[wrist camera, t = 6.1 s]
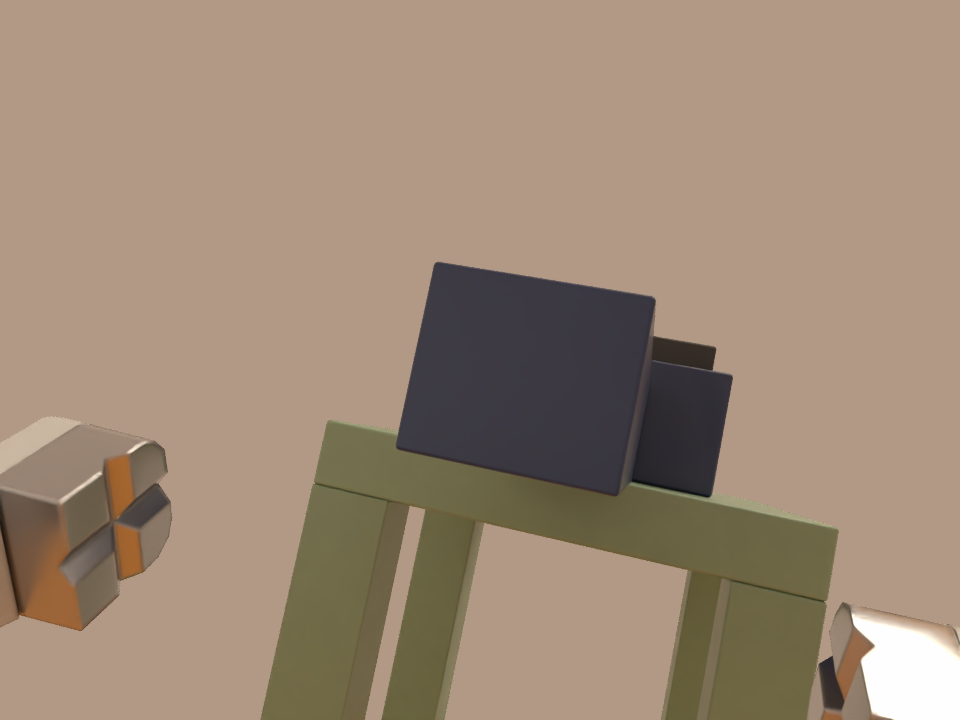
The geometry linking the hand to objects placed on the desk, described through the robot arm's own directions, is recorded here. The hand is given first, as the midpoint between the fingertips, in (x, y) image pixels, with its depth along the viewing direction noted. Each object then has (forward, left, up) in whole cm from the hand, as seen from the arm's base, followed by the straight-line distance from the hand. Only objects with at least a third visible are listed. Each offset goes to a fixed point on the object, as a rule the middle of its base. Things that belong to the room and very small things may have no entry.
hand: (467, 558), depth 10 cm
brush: (-3, +11, +1) cm, 11 cm away
